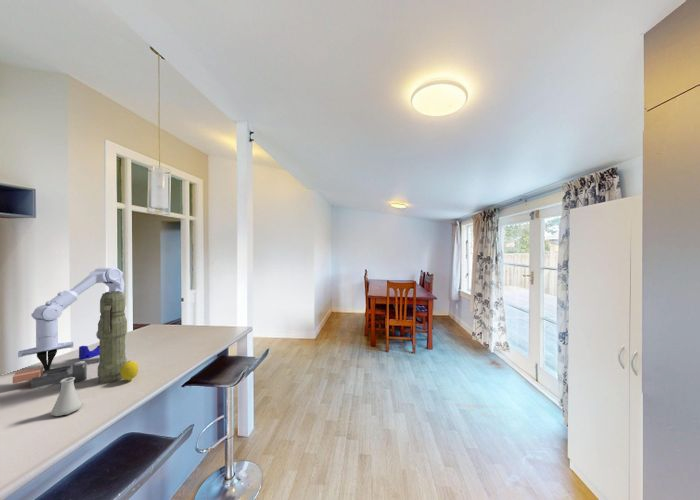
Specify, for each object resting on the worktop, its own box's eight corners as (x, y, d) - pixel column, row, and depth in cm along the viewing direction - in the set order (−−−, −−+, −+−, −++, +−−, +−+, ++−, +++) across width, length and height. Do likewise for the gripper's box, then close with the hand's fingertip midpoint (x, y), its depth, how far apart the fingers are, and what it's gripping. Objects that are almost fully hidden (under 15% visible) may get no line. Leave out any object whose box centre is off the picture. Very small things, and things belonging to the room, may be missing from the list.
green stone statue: (93, 387, 102) (93, 295, 102) (102, 375, 112) (102, 290, 112) (123, 382, 106) (123, 293, 106) (129, 370, 116) (129, 289, 116)
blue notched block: (103, 349, 140) (103, 338, 140) (110, 350, 140) (110, 338, 140) (76, 359, 129) (76, 346, 129) (84, 359, 128) (84, 347, 128)
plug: (87, 376, 110) (87, 359, 110) (86, 380, 107) (86, 362, 107) (73, 380, 108) (73, 362, 108) (71, 383, 105) (71, 365, 105)
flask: (66, 404, 91) (66, 374, 91) (89, 403, 92) (89, 373, 92) (43, 417, 84) (43, 385, 84) (68, 416, 84) (68, 384, 84)
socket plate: (79, 370, 116) (79, 362, 116) (76, 378, 109) (76, 370, 109) (37, 379, 108) (37, 370, 108) (31, 388, 101) (31, 379, 101)
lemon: (118, 385, 103) (118, 364, 104) (122, 379, 108) (122, 359, 108) (136, 382, 106) (136, 361, 106) (139, 376, 111) (139, 356, 111)
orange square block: (42, 372, 108) (42, 366, 108) (39, 378, 103) (39, 371, 103) (17, 377, 104) (17, 370, 104) (12, 383, 99) (12, 376, 99)
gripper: (73, 329, 115) (73, 361, 115) (19, 337, 104) (19, 372, 105) (73, 333, 110) (73, 366, 110) (17, 342, 100) (17, 378, 100)
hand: (47, 369), depth 107 cm, fingers closed
